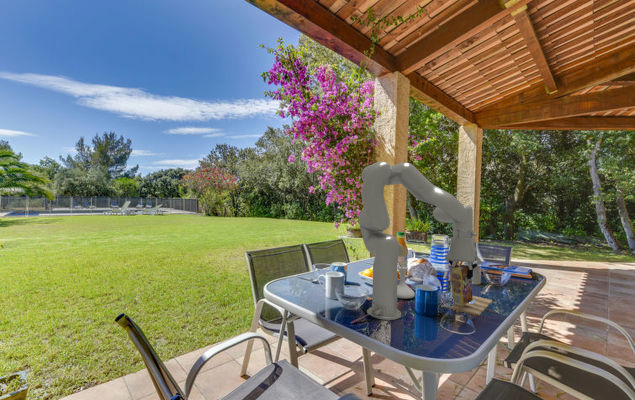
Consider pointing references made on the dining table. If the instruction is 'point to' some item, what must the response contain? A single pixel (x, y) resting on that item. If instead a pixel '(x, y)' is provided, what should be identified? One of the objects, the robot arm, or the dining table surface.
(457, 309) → the striped wooden board
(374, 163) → the robot arm
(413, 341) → the dining table surface
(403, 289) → the flower in vase
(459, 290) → the candy box
